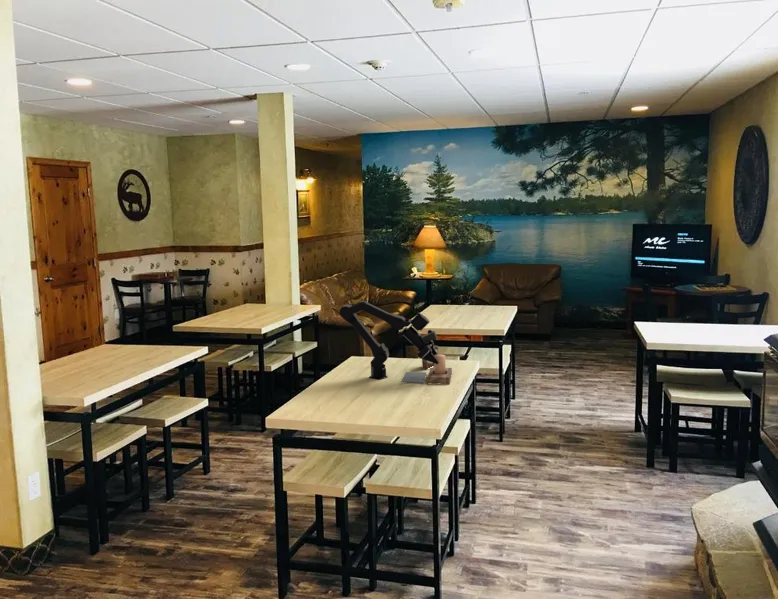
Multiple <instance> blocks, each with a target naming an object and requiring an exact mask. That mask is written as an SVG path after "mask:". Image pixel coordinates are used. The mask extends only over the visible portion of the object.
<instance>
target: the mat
mask: <svg viewBox="0 0 778 599" xmlns="http://www.w3.org/2000/svg"><path fill="white" fill-rule="evenodd" d="M426 373H427V372H425V371H421V372H420V371H419V372H418V371H405V373H404V376H402V379H401V382H407V383H406V384H424V382H425V380H426V377H425V376H427V374H426ZM424 379H425V380H424Z"/></svg>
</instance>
